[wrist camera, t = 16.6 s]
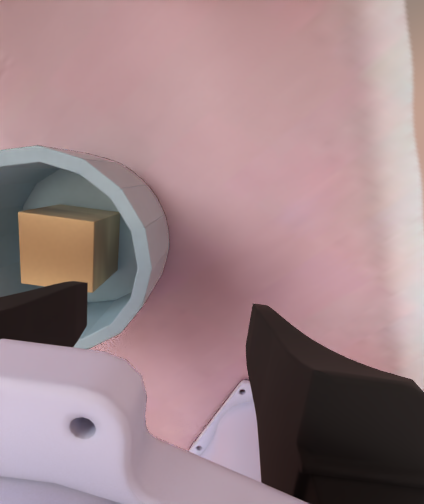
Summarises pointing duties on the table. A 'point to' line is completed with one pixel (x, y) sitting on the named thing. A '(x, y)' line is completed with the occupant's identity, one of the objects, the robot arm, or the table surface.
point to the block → (68, 245)
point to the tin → (96, 197)
